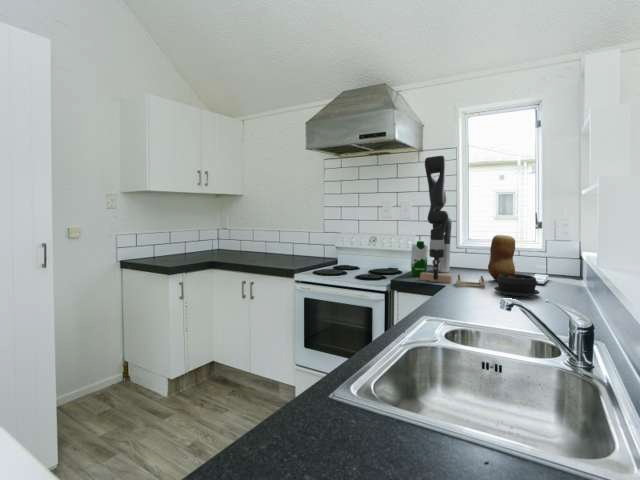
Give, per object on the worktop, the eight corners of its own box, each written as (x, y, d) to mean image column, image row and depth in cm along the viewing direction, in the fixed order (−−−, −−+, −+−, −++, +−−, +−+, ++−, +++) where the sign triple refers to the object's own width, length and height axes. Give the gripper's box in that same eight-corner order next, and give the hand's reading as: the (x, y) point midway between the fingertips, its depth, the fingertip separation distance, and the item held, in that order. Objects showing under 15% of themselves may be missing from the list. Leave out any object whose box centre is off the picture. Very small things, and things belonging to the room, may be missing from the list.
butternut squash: (517, 284, 206) (519, 236, 204) (489, 282, 208) (492, 235, 206) (510, 279, 219) (512, 234, 217) (484, 278, 222) (486, 233, 220)
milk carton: (412, 276, 225) (413, 241, 224) (410, 274, 234) (411, 240, 233) (427, 277, 224) (429, 242, 223) (425, 274, 233) (426, 240, 232)
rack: (456, 282, 208) (456, 274, 207) (483, 284, 203) (483, 275, 203) (456, 286, 198) (457, 277, 198) (484, 288, 194) (485, 279, 194)
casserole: (493, 287, 196) (493, 270, 195) (535, 291, 189) (536, 273, 188) (494, 298, 172) (495, 279, 172) (543, 302, 166) (544, 282, 165)
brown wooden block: (422, 279, 219) (422, 272, 218) (451, 282, 210) (452, 275, 210) (420, 280, 215) (420, 273, 215) (450, 283, 207) (450, 276, 207)
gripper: (430, 246, 219) (429, 275, 221) (428, 249, 206) (427, 280, 207) (444, 247, 217) (443, 276, 218) (444, 249, 203) (442, 280, 205)
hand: (435, 278), depth 213 cm, fingers open, 8 cm apart
